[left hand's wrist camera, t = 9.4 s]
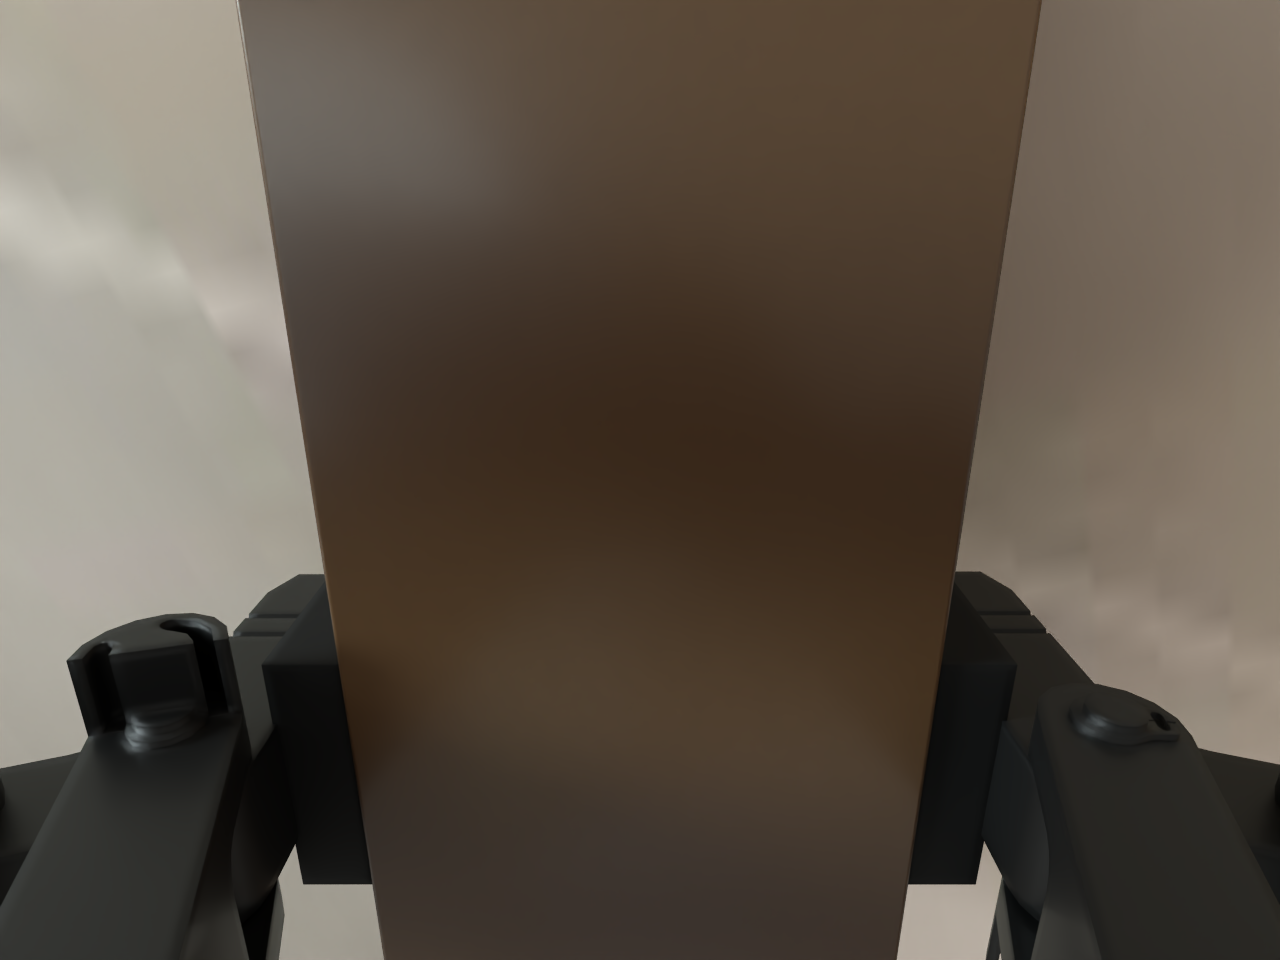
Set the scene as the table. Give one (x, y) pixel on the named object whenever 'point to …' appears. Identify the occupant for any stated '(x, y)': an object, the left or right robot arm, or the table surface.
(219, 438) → the table surface
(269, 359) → the table surface
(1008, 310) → the table surface
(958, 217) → the bar
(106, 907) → the left robot arm
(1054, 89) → the table surface
